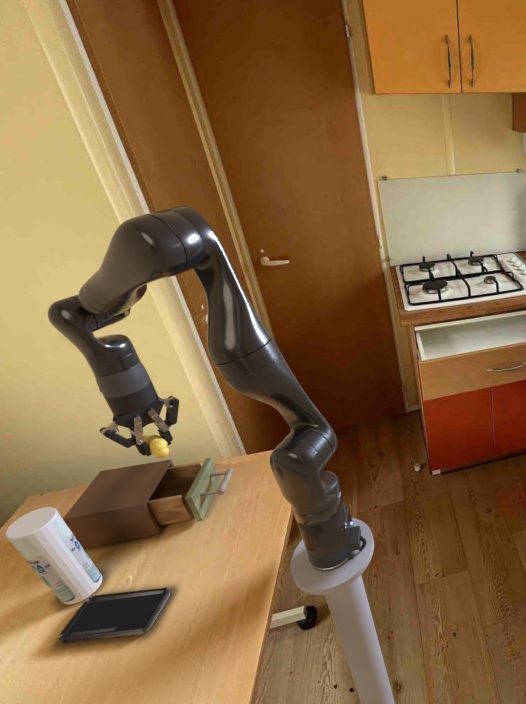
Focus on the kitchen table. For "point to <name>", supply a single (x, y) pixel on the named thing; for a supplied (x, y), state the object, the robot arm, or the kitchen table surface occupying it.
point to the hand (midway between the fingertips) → (158, 448)
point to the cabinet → (117, 505)
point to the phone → (115, 615)
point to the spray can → (55, 554)
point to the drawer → (186, 492)
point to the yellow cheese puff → (156, 445)
